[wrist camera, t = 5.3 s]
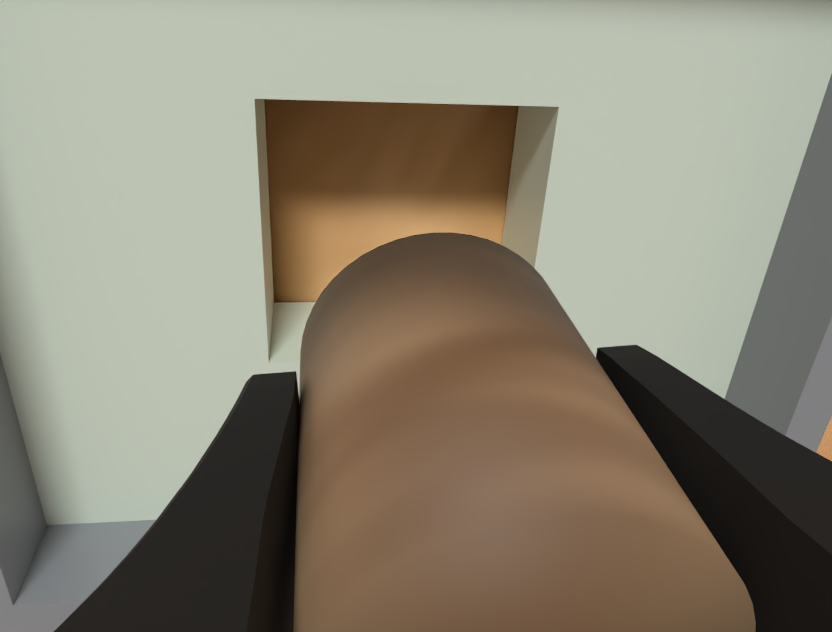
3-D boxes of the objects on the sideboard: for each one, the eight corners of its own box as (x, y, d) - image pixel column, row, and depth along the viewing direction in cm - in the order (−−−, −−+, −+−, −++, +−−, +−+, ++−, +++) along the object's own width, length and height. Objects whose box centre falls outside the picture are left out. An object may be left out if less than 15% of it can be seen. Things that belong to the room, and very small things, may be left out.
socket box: (867, -196, 16) (1108, -236, 11) (673, 450, 24) (760, 581, 20) (-148, -288, 13) (-414, -397, 8) (49, 476, 22) (-23, 637, 17)
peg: (574, 223, 11) (806, 486, 6) (552, 449, 13) (708, 789, 8) (288, 241, 11) (264, 543, 5) (311, 471, 13) (312, 848, 8)
